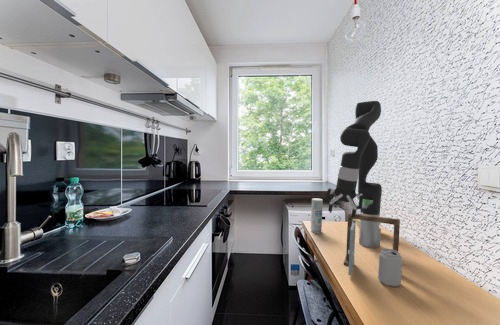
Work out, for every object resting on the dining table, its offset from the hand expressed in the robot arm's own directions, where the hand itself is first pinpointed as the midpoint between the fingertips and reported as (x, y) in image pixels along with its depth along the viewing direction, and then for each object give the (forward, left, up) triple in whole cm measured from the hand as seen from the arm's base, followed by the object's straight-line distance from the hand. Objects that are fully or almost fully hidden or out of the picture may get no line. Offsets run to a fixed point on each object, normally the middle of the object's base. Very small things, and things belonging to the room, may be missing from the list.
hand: (341, 214), depth 99 cm
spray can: (-4, -44, -23) cm, 50 cm away
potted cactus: (-36, -44, -23) cm, 62 cm away
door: (-4, +3, -21) cm, 22 cm away
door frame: (-14, 0, -23) cm, 27 cm away
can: (-14, +12, -23) cm, 29 cm away
